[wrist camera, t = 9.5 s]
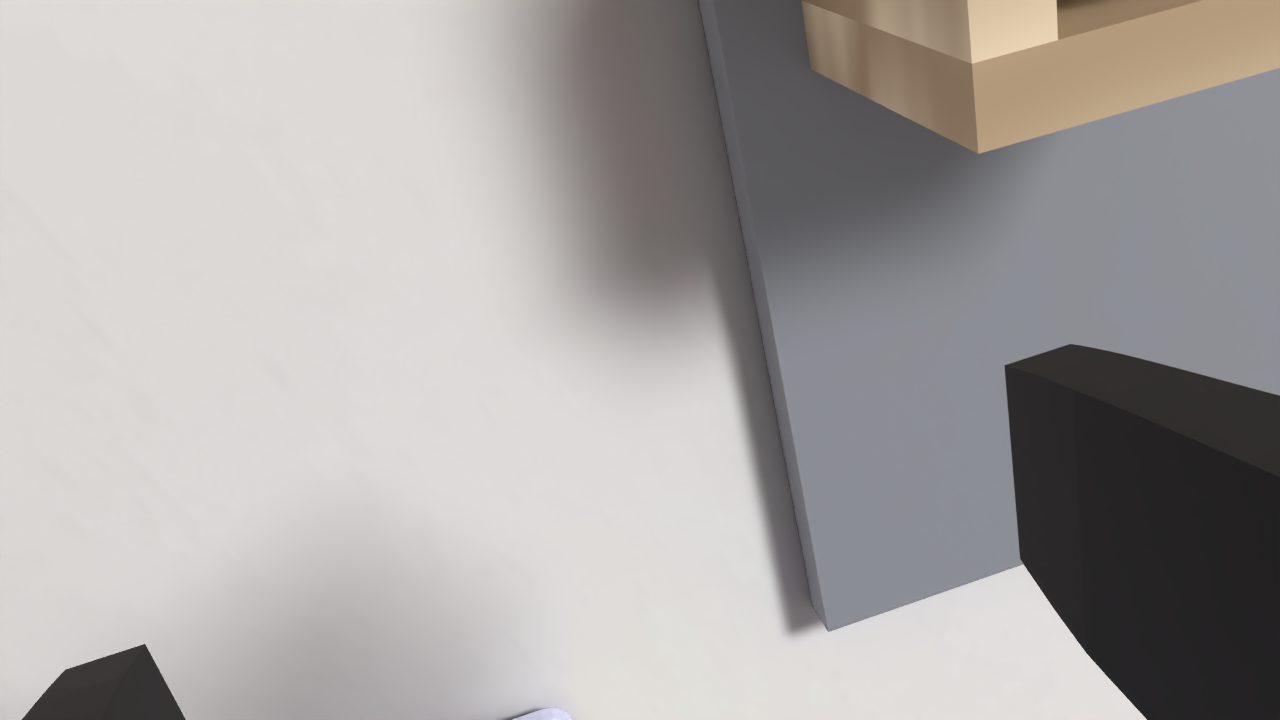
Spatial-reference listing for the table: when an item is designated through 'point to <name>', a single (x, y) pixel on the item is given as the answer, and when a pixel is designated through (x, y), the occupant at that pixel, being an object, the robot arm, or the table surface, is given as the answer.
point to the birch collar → (1034, 58)
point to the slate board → (971, 290)
